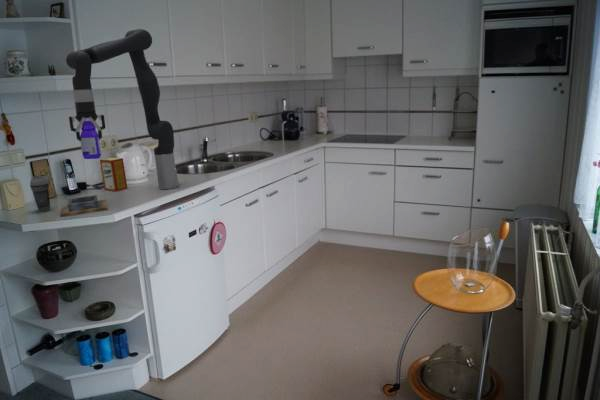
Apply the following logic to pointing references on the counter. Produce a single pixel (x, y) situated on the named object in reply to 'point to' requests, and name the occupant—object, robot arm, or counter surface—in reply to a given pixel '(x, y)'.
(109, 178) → the baking soda box
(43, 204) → the beverage cup
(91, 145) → the bottle
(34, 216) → the counter surface
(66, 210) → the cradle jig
